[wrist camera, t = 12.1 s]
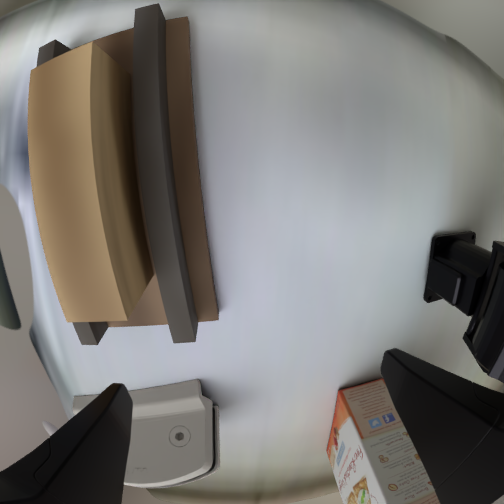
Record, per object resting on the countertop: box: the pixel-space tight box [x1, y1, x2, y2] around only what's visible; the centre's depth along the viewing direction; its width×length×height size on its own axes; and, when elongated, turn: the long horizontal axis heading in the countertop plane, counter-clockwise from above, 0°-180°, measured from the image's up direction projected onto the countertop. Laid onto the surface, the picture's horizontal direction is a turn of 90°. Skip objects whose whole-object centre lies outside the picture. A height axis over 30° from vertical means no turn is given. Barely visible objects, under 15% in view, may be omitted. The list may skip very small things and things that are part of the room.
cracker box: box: [327, 378, 440, 504], centre depth 17 cm, size 14×6×21 cm, turn 5°
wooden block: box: [28, 42, 154, 322], centre depth 13 cm, size 4×14×6 cm, turn 5°
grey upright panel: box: [73, 379, 220, 488], centre depth 20 cm, size 17×5×10 cm, turn 107°
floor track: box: [37, 3, 219, 345], centre depth 15 cm, size 12×22×4 cm, turn 5°
